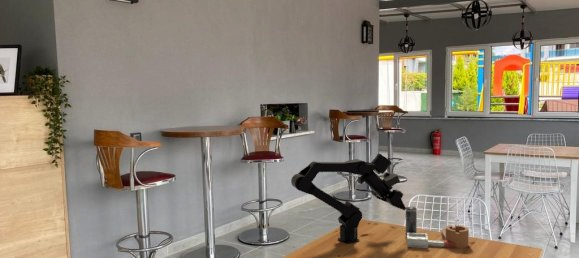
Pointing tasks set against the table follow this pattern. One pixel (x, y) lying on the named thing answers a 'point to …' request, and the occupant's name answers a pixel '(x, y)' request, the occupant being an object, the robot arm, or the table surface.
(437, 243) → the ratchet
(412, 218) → the dark metal cylinder
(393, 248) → the table surface
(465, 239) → the bracket
